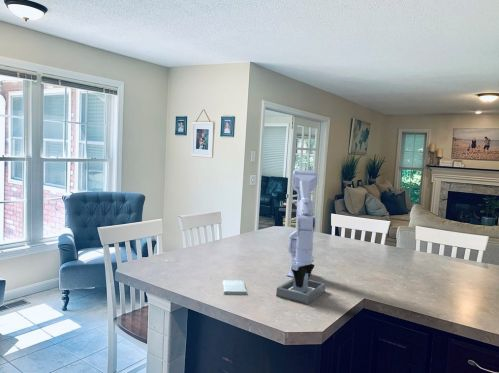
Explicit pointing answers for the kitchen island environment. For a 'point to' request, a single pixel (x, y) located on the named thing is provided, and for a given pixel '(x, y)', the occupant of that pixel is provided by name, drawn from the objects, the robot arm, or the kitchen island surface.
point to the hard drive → (234, 287)
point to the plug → (304, 287)
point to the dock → (302, 297)
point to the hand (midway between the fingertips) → (301, 285)
